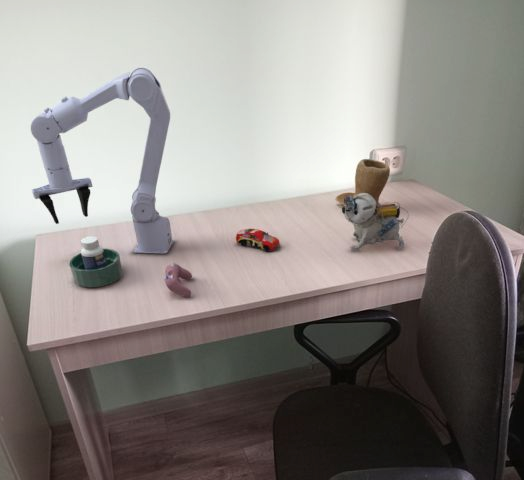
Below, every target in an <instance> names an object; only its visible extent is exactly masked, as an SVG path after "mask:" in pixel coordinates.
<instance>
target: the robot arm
mask: <svg viewBox="0 0 524 480" xmlns="http://www.w3.org/2000/svg"><path fill="white" fill-rule="evenodd" d="M130 98H131V99H132V100H133V101H134V102H135V103H136V104H138V105H139V106H140V107H141V108H143V110H144V111H145V113H146V114H147V115H148V117H149V120H150V121H149V125H148V129H147V135H146V142H145V146H144V151H143V152H144V153H143V158H142V163H141V169H140V173H139V178H138V183H137V187H136V189H135V190H134V191H133V192H132V195H131V205H130V213H131V215H132V216H131V219H132V223H133V229H134V233H135V238H136V243H137V246H136V247H135V248H134V249H133V253H134V254H163V255H165V254H167V253H168V252H169V250H170V249H171V247H172V245H173V244H174V242H175V241H174V239H173V233H172V228H171V221H170V219H169V217H166V216H162V215H160V213H159V211H158V210H156V209H157V208H156V203H157V202H156V199H157V198H156V191H157V184H158V180H159V175H160V170H161V166H162V165H161V164H162V160H163V155H164V150H165V145H166V140H167V136H168V131H169V126H170V121H171V110H170V108H169V105H168V103H167V100H166V97H165V95H164V92H163V88H162V86H161V83H160V82H159V80H158V79H157V77H156V75H154V73H153V71H151V70H150V69H148V68H145V67H137V68H135V69H134V70H132V72H130V71H129V72H125V73H123V74H120V75H118V76H116V77H114V78H112V79H111V80H108V81H107V82H106V83H104V84H103V85H101V86H99V87H98V88H96V89H95V90H93V91H91V92H90V93H88V94H86V95H85V96H83V97H82V98H77V97H75V96H70V97H68V96H63V97H62V98H61V99H60V101H61V102H60V103H58V104H56V105H54V106H53V107H51V108H50V107H46V108H45V109H44V110H43V112H40V113H39V114H38V115H36V117H34V119H33V120H32V122H31V124H30V133H31V135H32V137H33V138H34V139H35V140H36V142H37V145H38V151H39V153H40V157H41V160H42V164H43V168H44V171H45V173H46V177H47V180H48V184H45V185H42V186H39V187H35V188H32V189H31V193H32V196H33V198H34V199H35V200H38V199H39V201H40V202H41V203H42V204H43V205H44V206H45V208H46V209H47V210H48V212H49V214H50V215H51V218H52V220H53V222H54V223H55V225H58V224H60V221H59V218H58V216H57V213H56V209H55V205H54V201H53V199H52V197H51V196H53V195H57V194H62V193H66V192H67V193H68V192H71V191H75V190H76V193H77V196H78V200H79V202H80V203H79V204H80V207H81V212H82V215H83V216H84V217H85V218H87V217H89V213H88V212H89V210H88V209H89V200H90V196H91V189H90V188H92V187H93V183H92V179H91V178H89V177H85V178H76V179H73V176H72V173H71V169H70V164H69V161H68V157H67V154H66V150H65V145H64V143H63V140H62V137H61V134H66V133H67V132H69V131H71V130H73V129H75V128H77V127H78V126H80V125H82V124H84V123H85V122H87V121H88V117H89V116H88V115H89V113H90V112H92V111H94V110H96V109H98V108H101V107H103V106H104V105H106V104H108V103H111V102H112V101H114V100H116V99H119V100H124V101H129V100H130Z"/></svg>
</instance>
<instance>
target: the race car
mask: <svg viewBox="0 0 524 480" xmlns="http://www.w3.org/2000/svg"><path fill="white" fill-rule="evenodd" d="M235 242H236V243H237V244H240V245H241V247H245V246H246V247H250V248H255V249H259V250H263V251H264V252H266V253H268V252H270V251H274V250H277V249H279V248H280V246H281V242H280V239H279V238H277V237H276V236H273V235H270V234H269V232H266V231H264V230H261V229H258V228H244V229H240V230H239V231H238V232H236V236H235Z"/></svg>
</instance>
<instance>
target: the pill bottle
mask: <svg viewBox="0 0 524 480" xmlns="http://www.w3.org/2000/svg"><path fill="white" fill-rule="evenodd" d="M80 244H81V246H82V248H81V249H80V253H81V255H82V258H83V262H84V265H85V269H86V270H92V269H99V268H102V267H105V266H107V262H106V258H105V254H104V250H103V249H104V247H103V246H102V245H100V242H99V239H98V237H96V236H86V237H84V238H82V239H81V240H80Z"/></svg>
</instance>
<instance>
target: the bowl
mask: <svg viewBox="0 0 524 480" xmlns="http://www.w3.org/2000/svg"><path fill="white" fill-rule="evenodd" d="M103 250H104V254H105V258H106V262H107V266H105V267H102V268H99V269H92V270H86V269H85V265H84V262H83V258H82V255H81V252H80V253H77V254H75V255H74V256H73V257H71V258H70V260H69V263H68V265H69V269H70V272H71V275H72V278H73V281H74V283H75V284H77V285H78V286H80V287H83V288H99V287H105V286H107V285H110V284H112V283H114V282H116V281H118V280H119V279H121V277H122V276H123V275H124V268H123V264H122V259H121V255H120V253H119V252H118V251H116V250H114V249H111V248H103Z"/></svg>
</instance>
